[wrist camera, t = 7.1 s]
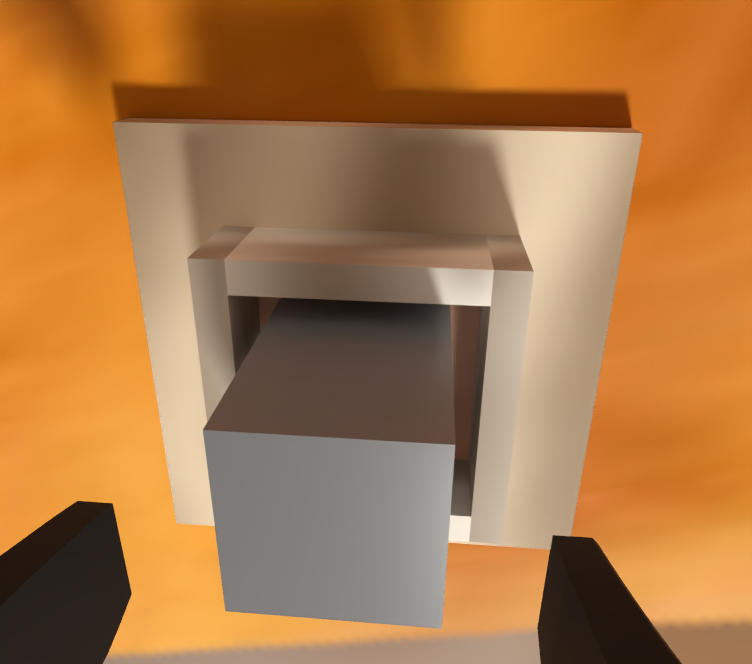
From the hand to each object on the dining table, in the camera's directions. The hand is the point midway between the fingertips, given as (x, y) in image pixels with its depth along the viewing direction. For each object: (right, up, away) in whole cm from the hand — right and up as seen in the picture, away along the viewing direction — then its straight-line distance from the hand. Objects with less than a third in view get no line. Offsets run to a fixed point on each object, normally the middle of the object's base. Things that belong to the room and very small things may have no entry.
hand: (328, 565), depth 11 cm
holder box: (+1, +3, +7) cm, 8 cm away
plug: (+1, +3, +6) cm, 7 cm away
